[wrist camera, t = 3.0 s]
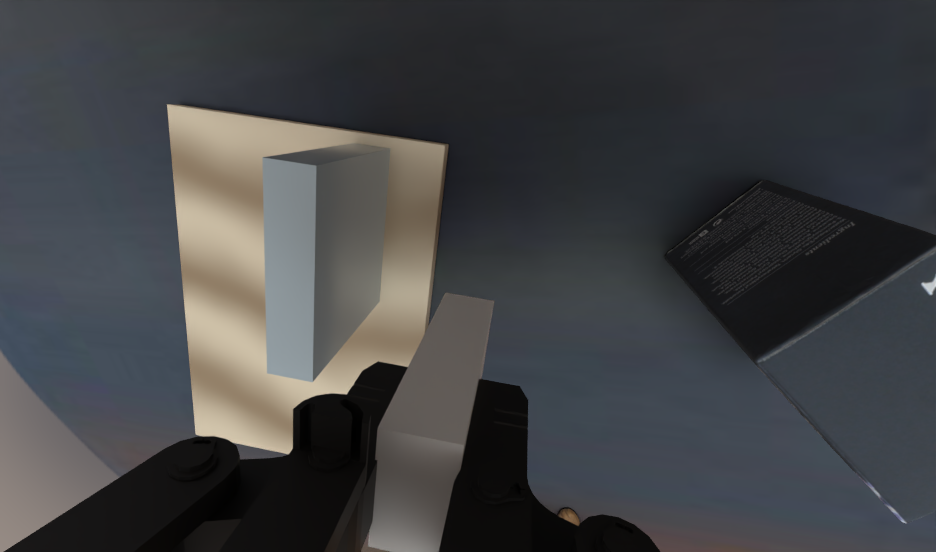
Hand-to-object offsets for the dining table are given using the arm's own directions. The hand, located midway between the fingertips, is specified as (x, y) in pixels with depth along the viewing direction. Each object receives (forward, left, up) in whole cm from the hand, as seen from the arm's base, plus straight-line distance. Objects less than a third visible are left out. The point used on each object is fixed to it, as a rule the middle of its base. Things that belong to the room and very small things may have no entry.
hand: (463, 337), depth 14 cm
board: (+5, -10, -10) cm, 15 cm away
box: (-1, +13, -11) cm, 17 cm away
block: (0, -6, -9) cm, 11 cm away
